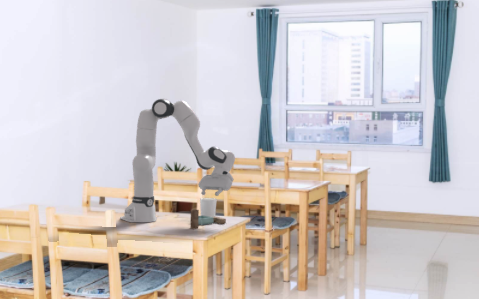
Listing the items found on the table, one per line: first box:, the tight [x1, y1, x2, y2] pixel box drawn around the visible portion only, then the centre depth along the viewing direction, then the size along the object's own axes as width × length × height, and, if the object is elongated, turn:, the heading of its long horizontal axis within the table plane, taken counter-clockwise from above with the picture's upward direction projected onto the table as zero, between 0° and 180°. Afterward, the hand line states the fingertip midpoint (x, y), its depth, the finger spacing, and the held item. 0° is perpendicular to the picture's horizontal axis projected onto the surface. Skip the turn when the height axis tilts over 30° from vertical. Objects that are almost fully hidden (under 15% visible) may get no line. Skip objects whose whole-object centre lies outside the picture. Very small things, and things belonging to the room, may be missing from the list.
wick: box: [213, 215, 227, 225], centre depth 344 cm, size 10×3×3 cm, turn 38°
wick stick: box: [190, 209, 200, 230], centre depth 324 cm, size 3×3×10 cm
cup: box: [198, 215, 214, 226], centre depth 340 cm, size 9×9×4 cm
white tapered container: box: [199, 197, 217, 217], centre depth 356 cm, size 10×10×12 cm
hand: (209, 194), depth 334 cm, fingers open, 8 cm apart
